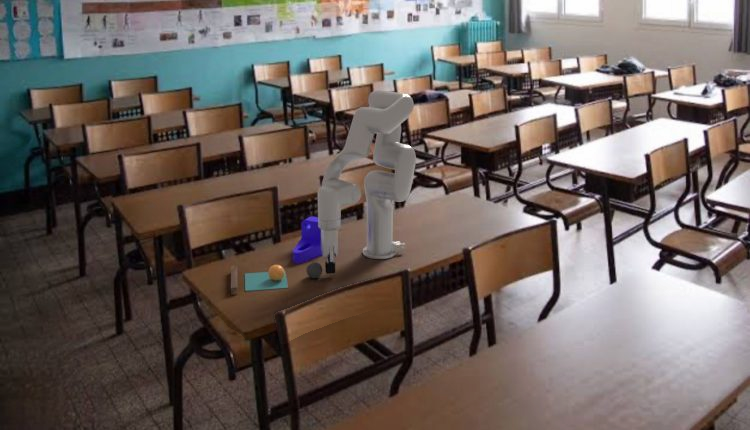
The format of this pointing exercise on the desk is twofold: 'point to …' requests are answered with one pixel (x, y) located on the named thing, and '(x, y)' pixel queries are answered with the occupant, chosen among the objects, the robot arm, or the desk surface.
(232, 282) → the wooden bar
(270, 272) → the orange ball
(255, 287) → the teal mark
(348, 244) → the desk surface
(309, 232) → the bracket
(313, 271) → the grey ball
